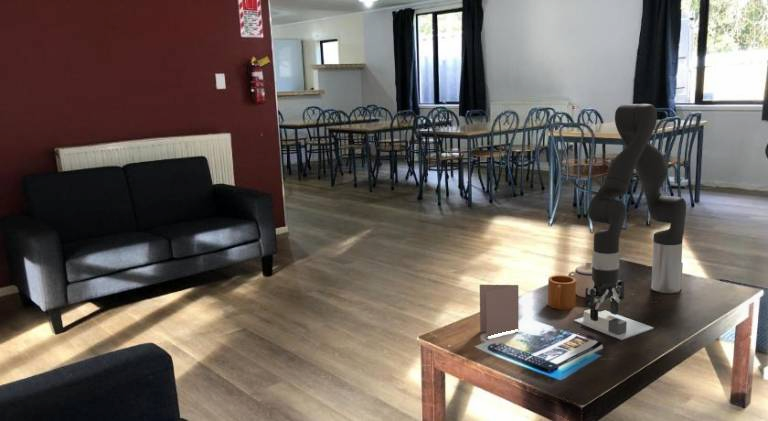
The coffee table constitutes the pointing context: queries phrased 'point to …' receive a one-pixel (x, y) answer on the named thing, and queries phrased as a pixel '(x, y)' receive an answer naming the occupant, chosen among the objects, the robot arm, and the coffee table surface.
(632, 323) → the paper pad
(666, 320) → the coffee table surface
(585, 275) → the teacup with lid
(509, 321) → the greeting card
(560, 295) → the mug
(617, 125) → the robot arm
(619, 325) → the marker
